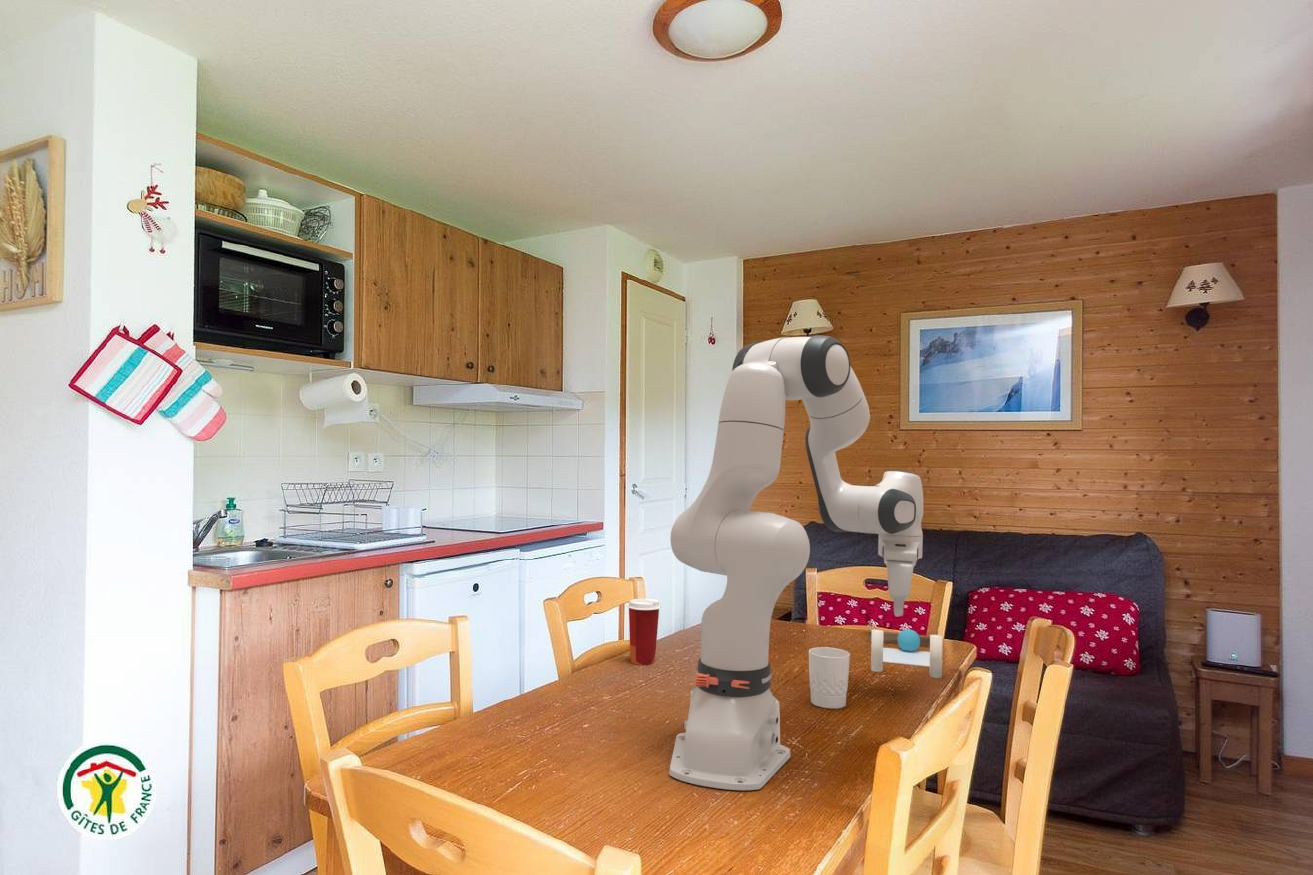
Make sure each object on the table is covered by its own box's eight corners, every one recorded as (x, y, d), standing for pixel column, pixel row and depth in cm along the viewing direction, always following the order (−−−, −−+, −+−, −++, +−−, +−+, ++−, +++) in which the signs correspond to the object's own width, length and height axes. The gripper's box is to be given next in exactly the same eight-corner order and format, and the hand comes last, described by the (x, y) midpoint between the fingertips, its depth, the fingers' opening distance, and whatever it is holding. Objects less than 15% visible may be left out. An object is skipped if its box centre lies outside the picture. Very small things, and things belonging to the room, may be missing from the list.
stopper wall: (940, 648, 194) (940, 638, 194) (868, 641, 199) (868, 631, 199) (940, 646, 196) (940, 636, 196) (868, 639, 201) (868, 630, 201)
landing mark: (936, 667, 175) (936, 666, 175) (874, 661, 180) (874, 660, 180) (933, 653, 189) (933, 652, 189) (875, 647, 193) (875, 646, 193)
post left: (882, 672, 170) (883, 632, 170) (870, 671, 171) (871, 631, 171) (882, 669, 173) (883, 630, 173) (871, 668, 173) (871, 628, 174)
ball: (920, 645, 185) (921, 626, 189) (897, 642, 187) (898, 623, 191) (919, 657, 189) (919, 637, 193) (896, 654, 191) (897, 635, 194)
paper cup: (665, 661, 175) (667, 600, 175) (647, 668, 168) (649, 605, 169) (637, 655, 179) (639, 596, 179) (618, 662, 173) (620, 601, 173)
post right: (942, 678, 166) (942, 637, 167) (929, 677, 167) (930, 636, 167) (941, 675, 169) (942, 635, 169) (929, 674, 170) (929, 634, 170)
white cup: (849, 711, 143) (850, 658, 143) (807, 707, 144) (808, 655, 145) (847, 698, 151) (848, 648, 151) (807, 695, 152) (808, 645, 152)
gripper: (885, 542, 169) (883, 604, 168) (883, 551, 149) (881, 622, 149) (914, 544, 167) (913, 607, 166) (917, 554, 147) (915, 625, 147)
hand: (898, 614), depth 157 cm, fingers closed
